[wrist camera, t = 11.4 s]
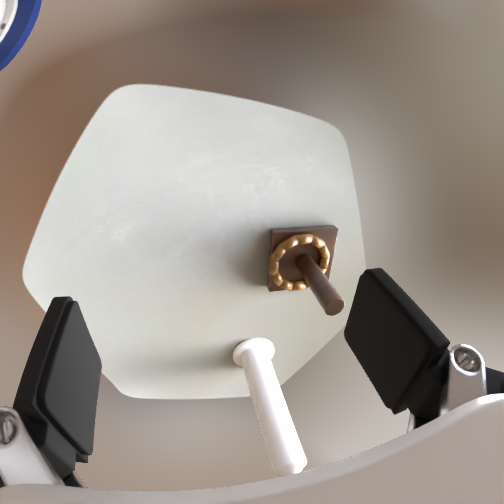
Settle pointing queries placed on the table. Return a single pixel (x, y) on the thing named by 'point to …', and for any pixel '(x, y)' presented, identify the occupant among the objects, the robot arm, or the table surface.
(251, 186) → the table surface
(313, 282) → the post
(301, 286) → the ring
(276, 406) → the candle
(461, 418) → the robot arm
